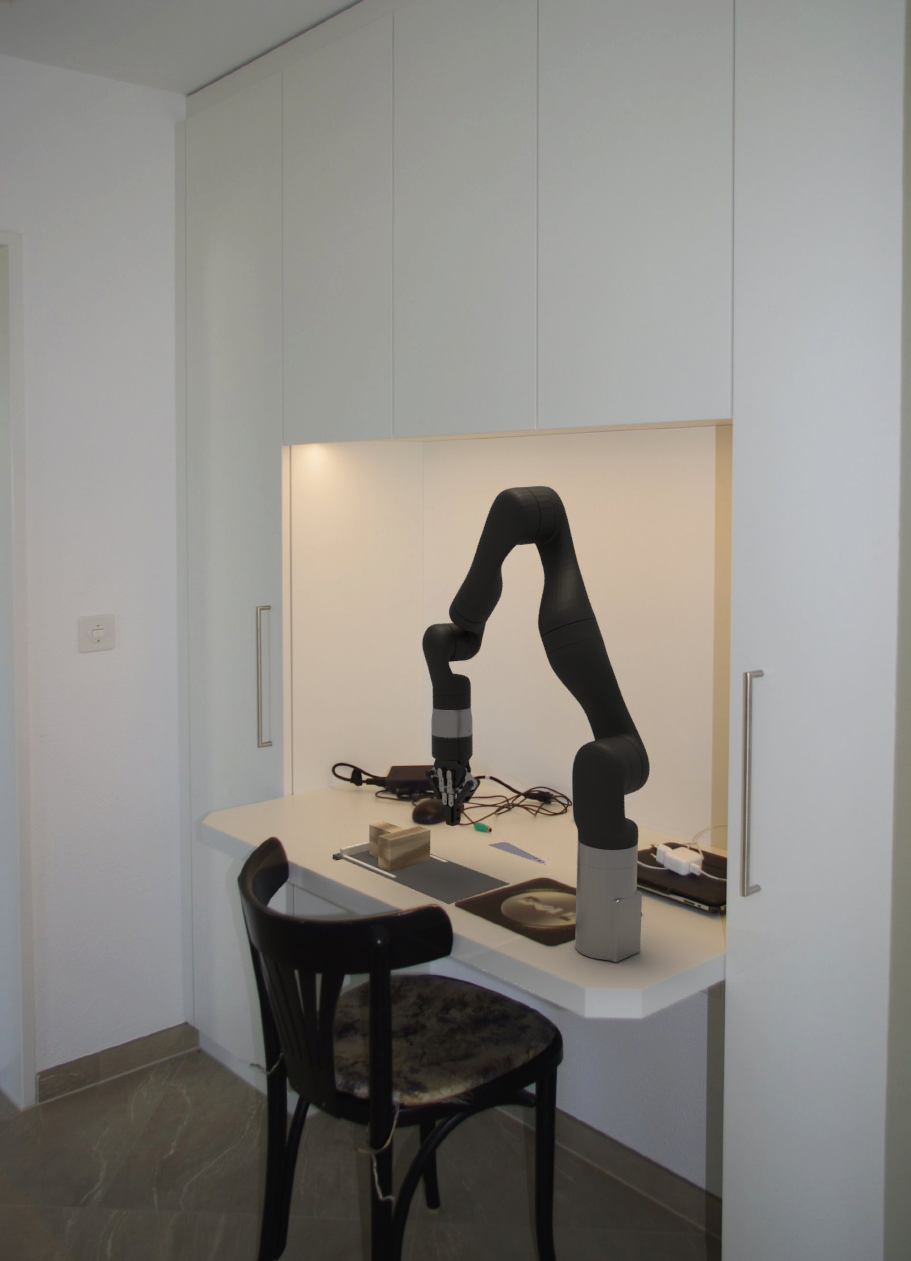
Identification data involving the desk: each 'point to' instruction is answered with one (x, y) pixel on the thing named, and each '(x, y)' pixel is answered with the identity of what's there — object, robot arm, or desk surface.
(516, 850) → the lavender triangular plate
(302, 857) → the desk surface
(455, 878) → the desk mat
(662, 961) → the desk surface
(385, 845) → the T block
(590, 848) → the robot arm
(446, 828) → the desk surface
